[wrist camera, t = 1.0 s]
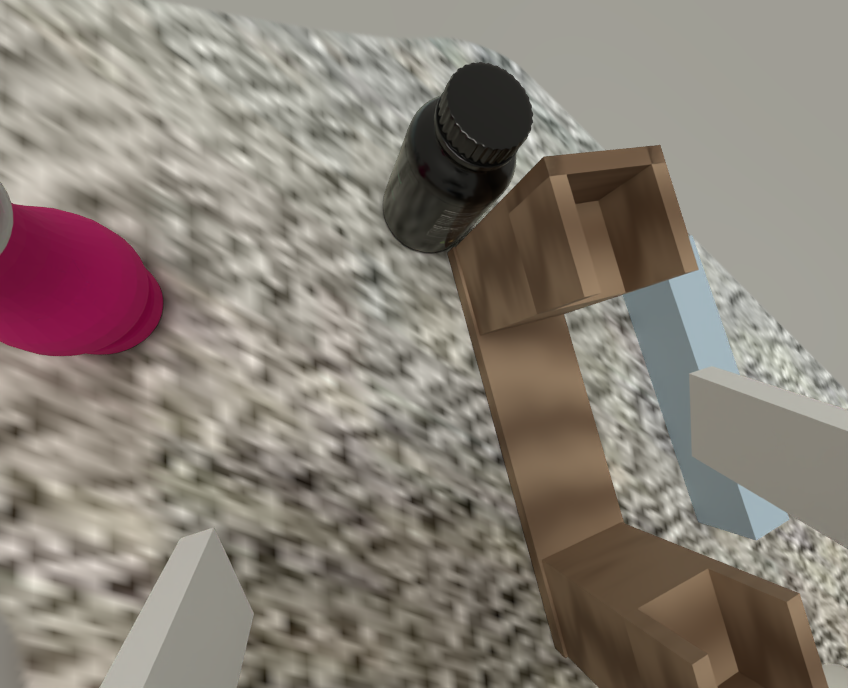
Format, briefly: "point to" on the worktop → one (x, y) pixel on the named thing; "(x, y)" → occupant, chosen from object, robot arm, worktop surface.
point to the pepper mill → (70, 284)
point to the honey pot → (836, 675)
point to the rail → (669, 371)
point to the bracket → (580, 444)
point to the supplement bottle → (457, 157)
